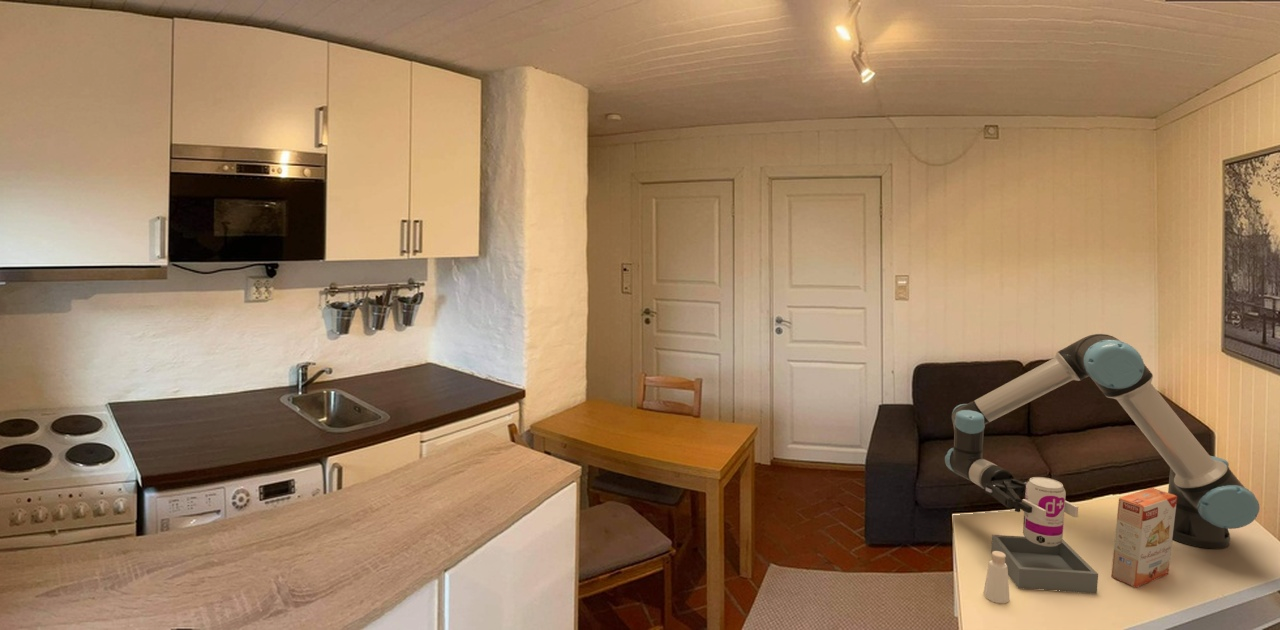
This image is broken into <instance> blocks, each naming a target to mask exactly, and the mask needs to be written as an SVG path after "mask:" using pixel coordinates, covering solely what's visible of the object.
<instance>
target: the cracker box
mask: <svg viewBox="0 0 1280 630" xmlns="http://www.w3.org/2000/svg"><path fill="white" fill-rule="evenodd" d="M1176 503H1177V496H1176V495H1173V494H1170V493H1168V491H1163V490H1160V489H1156V488H1154V487H1150V488H1146V489H1143V490H1139V491H1137V492H1134V493H1131V494H1128V495H1124V496H1120V497H1119V498H1118V504H1117V505H1118V507H1117V515H1116V526H1115V536H1114V545H1113V553H1112V555H1113V556H1112V563H1111V564H1112V565H1111V578H1114V579H1116V580H1118V581H1120V582H1122V583H1125V584H1127V585H1128V586H1131V587H1134V588H1138V587H1140V586H1143V585H1145V584H1147V583H1150V582H1153V581H1154V580H1157V579H1159V578H1163V577H1165V576H1167V575H1169V571H1170V560H1171V554H1172V545H1173V539H1172V538H1173V529H1174V520H1175V512H1176Z"/></svg>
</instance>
